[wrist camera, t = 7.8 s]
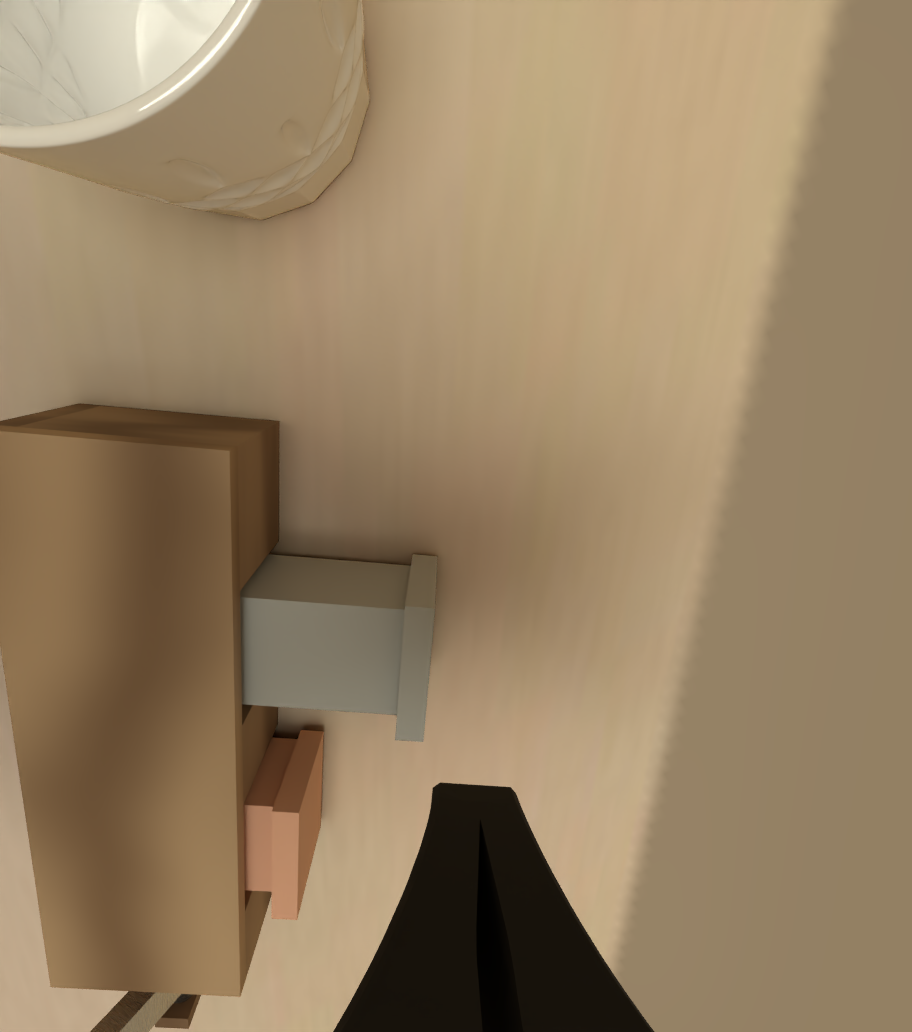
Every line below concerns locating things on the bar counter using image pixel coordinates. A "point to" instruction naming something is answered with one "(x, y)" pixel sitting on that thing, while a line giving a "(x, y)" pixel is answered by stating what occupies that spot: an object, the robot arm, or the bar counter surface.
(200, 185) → the white cup
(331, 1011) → the bar counter surface
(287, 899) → the flanged terracotta block
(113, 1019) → the toggle lever
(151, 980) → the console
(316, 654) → the plunger grey
